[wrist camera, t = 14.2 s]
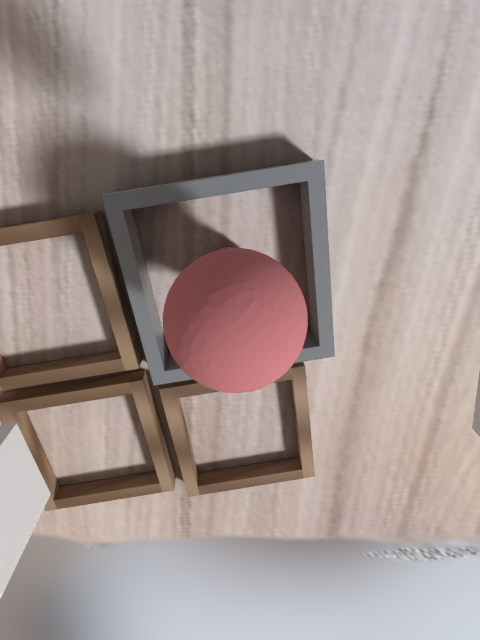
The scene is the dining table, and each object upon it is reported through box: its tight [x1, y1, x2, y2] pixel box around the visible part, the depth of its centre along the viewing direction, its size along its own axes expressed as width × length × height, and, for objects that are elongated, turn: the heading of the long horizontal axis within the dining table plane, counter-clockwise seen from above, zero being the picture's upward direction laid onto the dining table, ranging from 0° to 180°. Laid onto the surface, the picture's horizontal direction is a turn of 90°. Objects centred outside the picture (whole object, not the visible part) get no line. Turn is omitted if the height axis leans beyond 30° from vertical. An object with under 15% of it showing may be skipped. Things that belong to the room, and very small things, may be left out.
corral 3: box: [101, 160, 335, 385], centre depth 26 cm, size 13×13×2 cm
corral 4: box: [159, 362, 315, 497], centre depth 31 cm, size 11×11×2 cm
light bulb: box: [163, 247, 308, 393], centre depth 21 cm, size 7×7×12 cm
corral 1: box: [0, 211, 142, 391], centre depth 26 cm, size 11×11×2 cm
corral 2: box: [0, 370, 176, 511], centre depth 31 cm, size 11×11×2 cm
